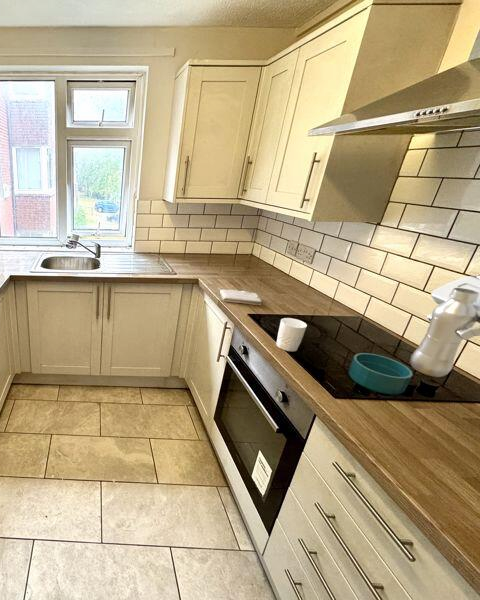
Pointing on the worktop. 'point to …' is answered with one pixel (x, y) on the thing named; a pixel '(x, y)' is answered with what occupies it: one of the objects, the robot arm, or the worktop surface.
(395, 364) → the bowl
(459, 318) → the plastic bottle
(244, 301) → the washcloth
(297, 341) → the white cup
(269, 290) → the worktop surface
